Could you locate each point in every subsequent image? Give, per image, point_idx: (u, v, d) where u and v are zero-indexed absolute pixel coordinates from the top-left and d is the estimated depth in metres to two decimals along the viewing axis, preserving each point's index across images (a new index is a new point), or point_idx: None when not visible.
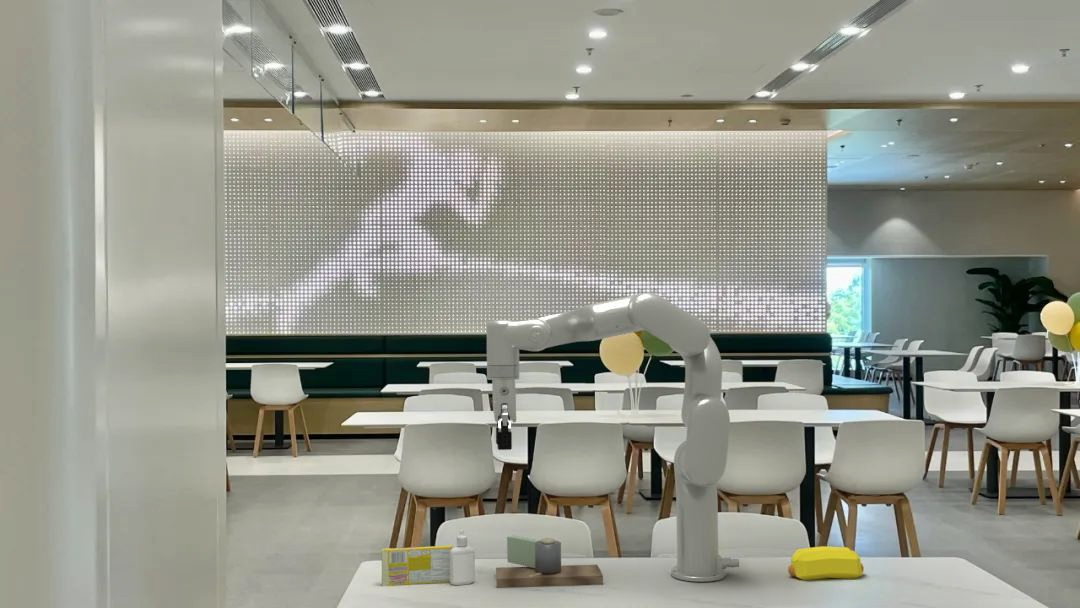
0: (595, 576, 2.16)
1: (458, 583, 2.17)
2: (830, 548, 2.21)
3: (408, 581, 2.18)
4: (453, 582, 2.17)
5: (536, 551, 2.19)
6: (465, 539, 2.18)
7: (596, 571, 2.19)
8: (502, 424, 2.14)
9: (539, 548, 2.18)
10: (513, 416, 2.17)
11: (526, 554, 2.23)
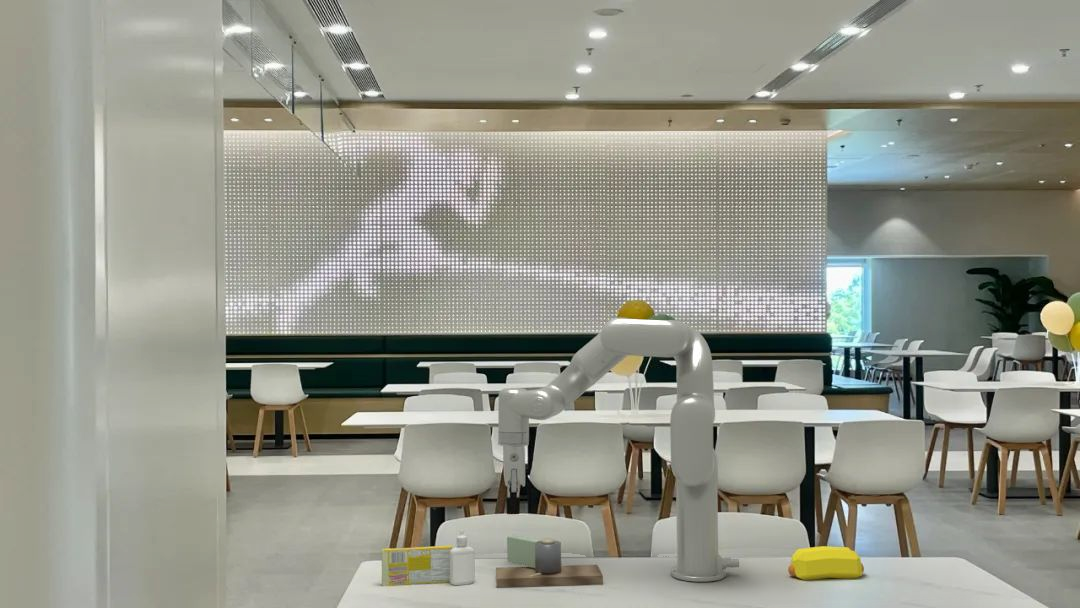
0: (595, 576, 2.16)
1: (458, 583, 2.17)
2: (830, 548, 2.21)
3: (408, 581, 2.18)
4: (453, 582, 2.17)
5: (536, 551, 2.19)
6: (465, 539, 2.18)
7: (596, 571, 2.19)
8: (511, 491, 2.31)
9: (539, 548, 2.18)
10: (522, 481, 2.29)
11: (526, 554, 2.23)
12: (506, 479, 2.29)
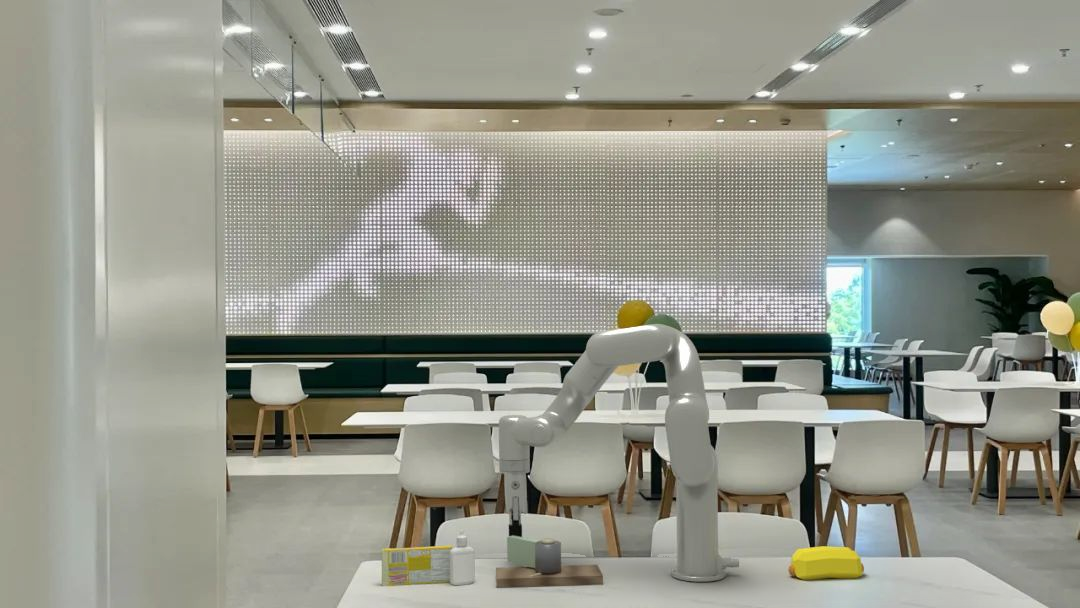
0: (595, 576, 2.16)
1: (458, 583, 2.17)
2: (830, 548, 2.21)
3: (408, 581, 2.18)
4: (453, 582, 2.17)
5: (536, 551, 2.19)
6: (465, 539, 2.18)
7: (596, 571, 2.19)
8: (513, 519, 2.30)
9: (539, 548, 2.18)
10: (524, 509, 2.29)
11: (526, 554, 2.23)
12: (508, 507, 2.29)
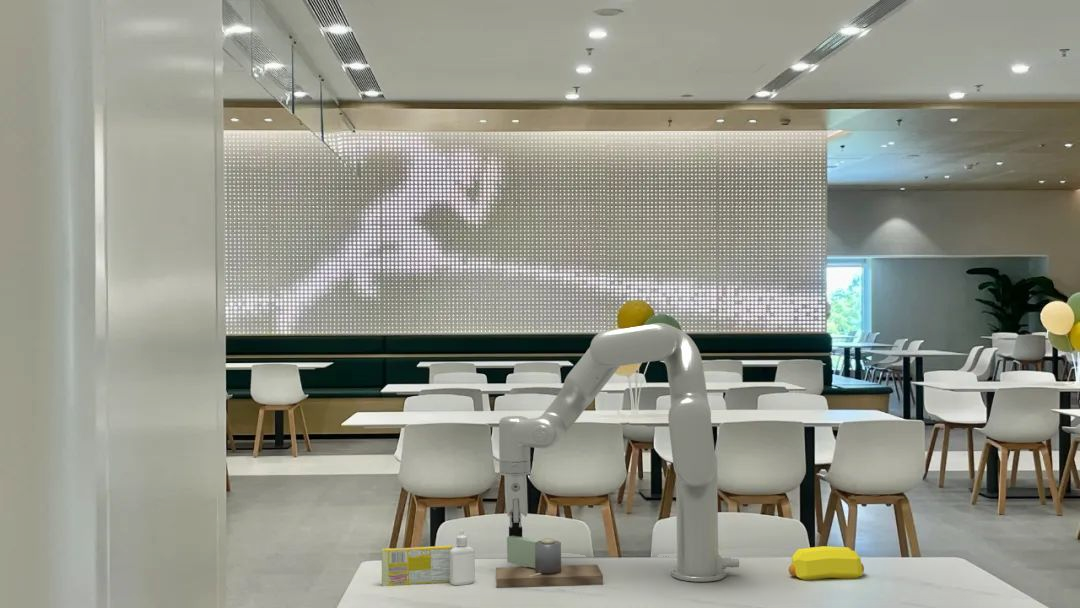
0: (595, 576, 2.16)
1: (458, 583, 2.17)
2: (830, 548, 2.21)
3: (408, 581, 2.18)
4: (453, 582, 2.17)
5: (536, 551, 2.19)
6: (465, 539, 2.18)
7: (596, 571, 2.19)
8: None
9: (539, 548, 2.18)
10: (524, 511, 2.26)
11: (526, 554, 2.23)
12: (508, 509, 2.26)
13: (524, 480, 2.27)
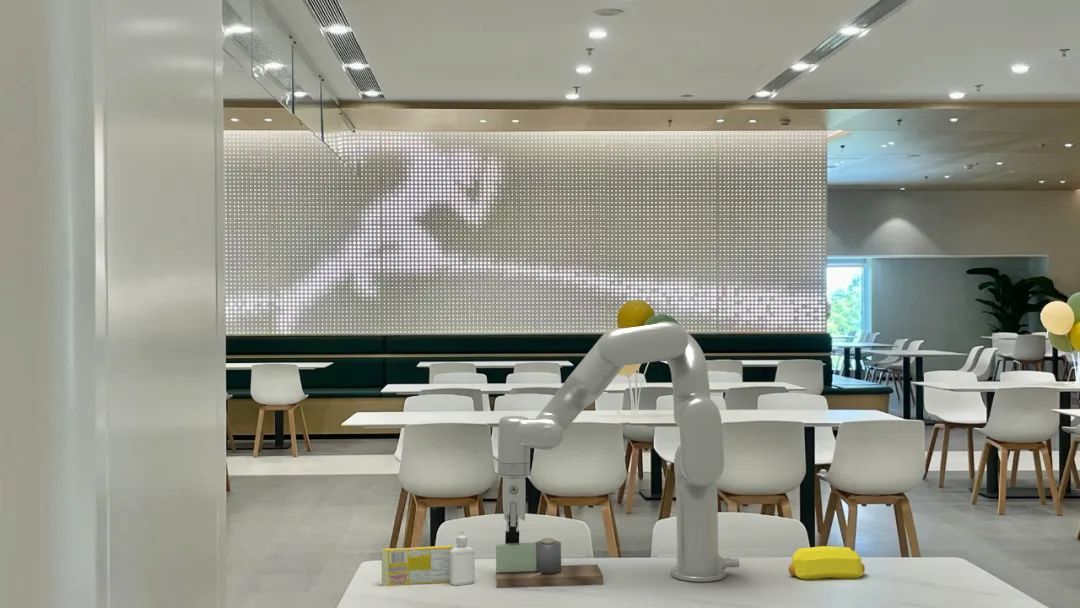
0: (595, 576, 2.16)
1: (458, 583, 2.17)
2: (831, 548, 2.21)
3: (408, 581, 2.18)
4: (453, 582, 2.17)
5: (544, 552, 2.17)
6: (465, 539, 2.18)
7: (596, 571, 2.19)
8: (510, 525, 2.19)
9: (549, 548, 2.17)
10: (522, 515, 2.17)
11: (522, 559, 2.19)
12: (505, 513, 2.17)
13: (523, 483, 2.18)
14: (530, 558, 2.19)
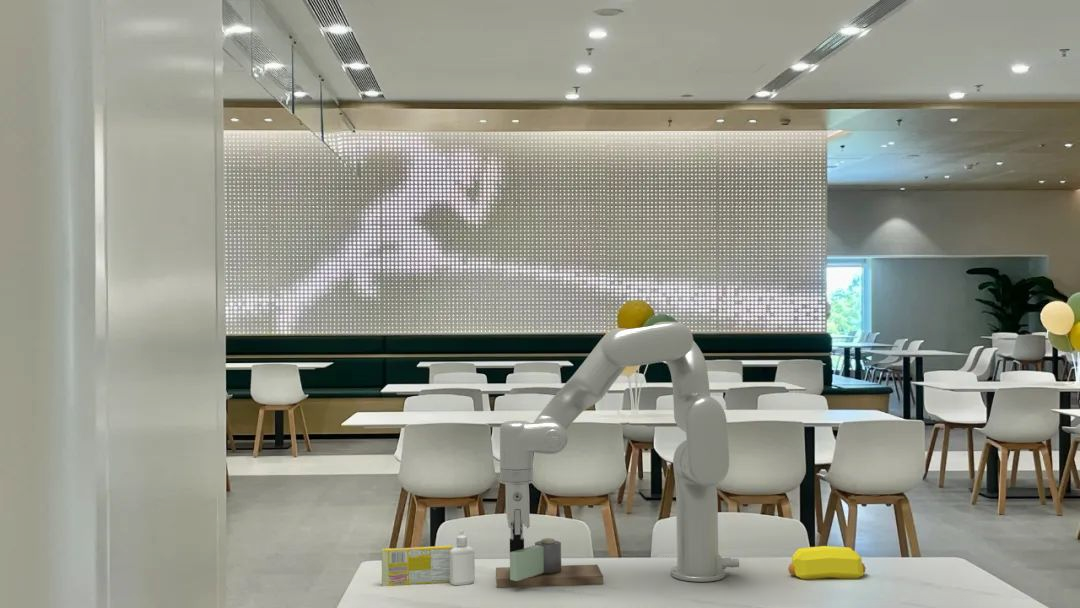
0: (595, 576, 2.16)
1: (458, 583, 2.17)
2: (831, 548, 2.21)
3: (408, 581, 2.18)
4: (453, 582, 2.17)
5: (554, 552, 2.18)
6: (465, 539, 2.18)
7: (596, 571, 2.19)
8: (514, 533, 2.13)
9: (558, 547, 2.18)
10: (526, 523, 2.12)
11: (534, 563, 2.15)
12: (509, 520, 2.12)
13: (526, 489, 2.13)
14: (539, 561, 2.16)
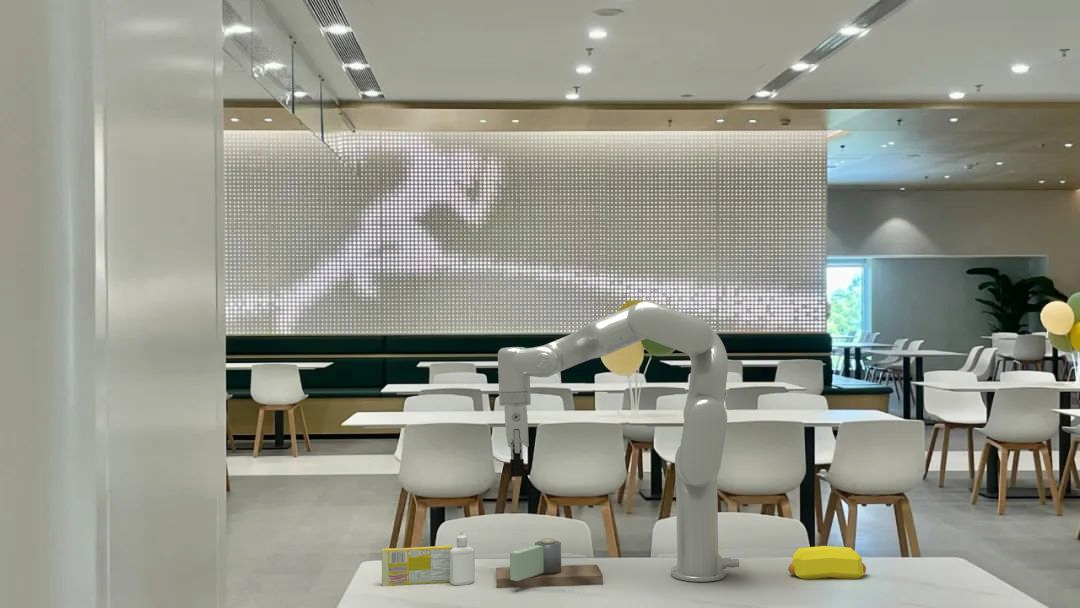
0: (595, 576, 2.16)
1: (458, 583, 2.17)
2: (832, 548, 2.21)
3: (408, 581, 2.18)
4: (453, 582, 2.17)
5: (554, 552, 2.18)
6: (465, 539, 2.18)
7: (596, 571, 2.19)
8: (514, 452, 2.24)
9: (558, 547, 2.18)
10: (525, 442, 2.22)
11: (534, 563, 2.15)
12: (509, 440, 2.22)
13: (525, 410, 2.23)
14: (539, 561, 2.16)
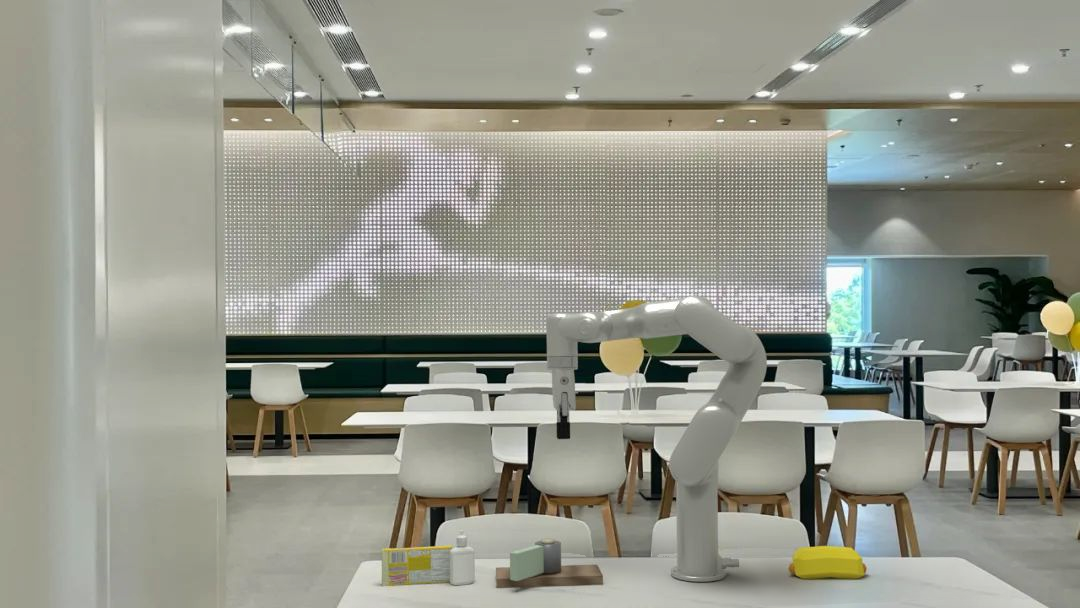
0: (595, 576, 2.16)
1: (458, 583, 2.17)
2: (832, 548, 2.21)
3: (408, 581, 2.18)
4: (453, 582, 2.17)
5: (554, 552, 2.18)
6: (465, 539, 2.18)
7: (596, 571, 2.19)
8: (562, 415, 2.30)
9: (558, 547, 2.18)
10: (573, 404, 2.28)
11: (534, 563, 2.15)
12: (557, 402, 2.28)
13: (572, 374, 2.29)
14: (539, 561, 2.16)
